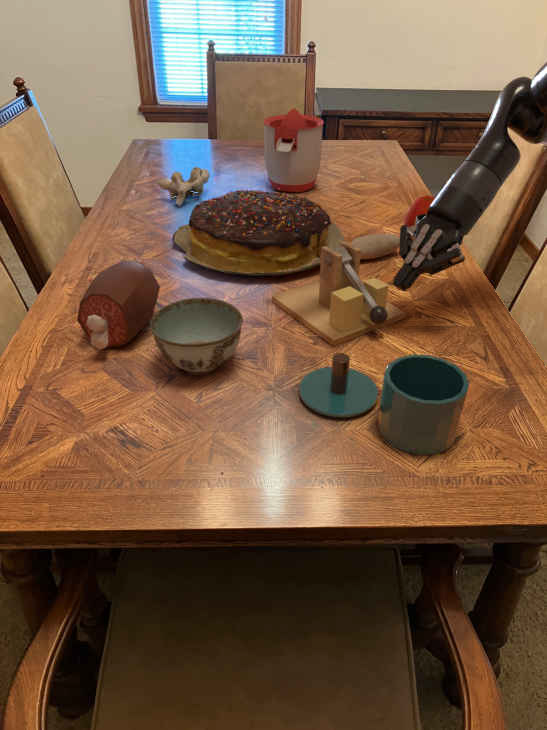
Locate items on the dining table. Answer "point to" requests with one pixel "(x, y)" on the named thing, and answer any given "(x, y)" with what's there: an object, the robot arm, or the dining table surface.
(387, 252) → the stone
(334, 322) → the pale yellow oblong block
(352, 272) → the ball tipped lever
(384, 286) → the yellow rectangular block
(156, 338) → the bowl
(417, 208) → the red egg
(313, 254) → the cake
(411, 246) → the robot arm
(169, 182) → the tan ginger root
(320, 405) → the crock lid
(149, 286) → the meat
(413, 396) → the crock
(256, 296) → the dining table surface
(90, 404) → the dining table surface
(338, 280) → the wooden lever switch base
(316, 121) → the citrus juicer
